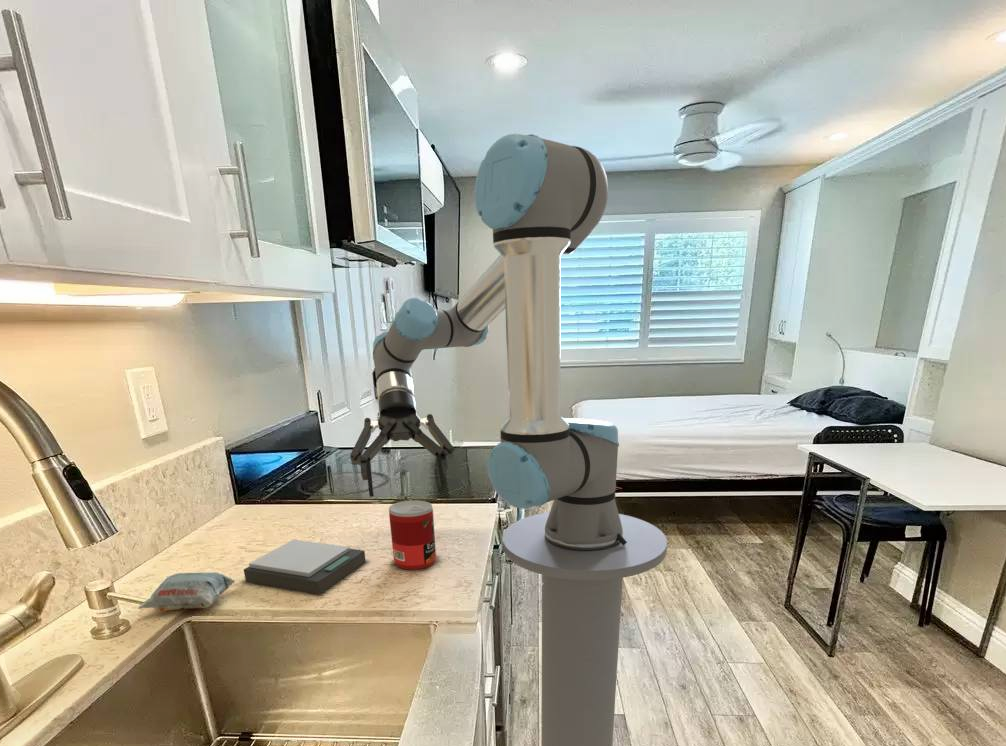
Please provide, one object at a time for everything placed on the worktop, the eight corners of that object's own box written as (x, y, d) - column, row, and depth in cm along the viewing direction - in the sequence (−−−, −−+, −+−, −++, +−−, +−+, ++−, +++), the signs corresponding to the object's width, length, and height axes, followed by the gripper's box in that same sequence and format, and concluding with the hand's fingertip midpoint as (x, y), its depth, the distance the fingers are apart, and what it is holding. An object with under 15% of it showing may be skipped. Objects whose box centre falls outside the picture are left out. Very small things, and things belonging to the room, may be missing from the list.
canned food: (434, 569, 104) (430, 512, 100) (391, 570, 104) (385, 514, 100) (438, 553, 111) (434, 499, 107) (397, 554, 111) (392, 500, 107)
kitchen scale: (365, 562, 108) (364, 546, 107) (319, 594, 96) (317, 577, 95) (297, 552, 114) (294, 537, 112) (245, 581, 102) (242, 565, 100)
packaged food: (215, 616, 90) (208, 588, 88) (140, 619, 90) (132, 590, 88) (238, 592, 98) (232, 565, 96) (169, 594, 98) (162, 568, 96)
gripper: (455, 407, 123) (469, 493, 115) (336, 414, 119) (343, 504, 111) (457, 385, 116) (472, 475, 108) (331, 391, 112) (338, 486, 104)
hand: (407, 490), depth 110 cm, fingers open, 13 cm apart
